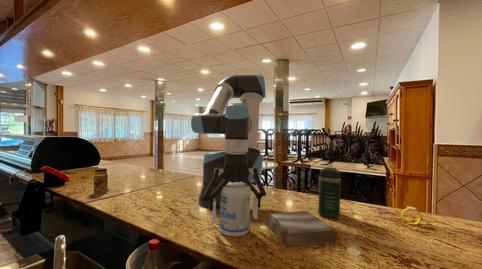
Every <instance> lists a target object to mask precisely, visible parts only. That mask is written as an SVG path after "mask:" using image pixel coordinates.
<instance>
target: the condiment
mask: <svg viewBox="0 0 482 269" xmlns="http://www.w3.org/2000/svg"><path fill="white" fill-rule="evenodd" d="M108 174H109V173H108V168H106V167H104V168H103V167H101V168H95V169H94V174H93V190H91V193H92V195H93V196H94V195H99V194H100V195H101V194H108V193H109V194H110V189H109V188H108V187H109V185H108V184H109V183H108V182H109V180H108V178H109V175H108Z"/></svg>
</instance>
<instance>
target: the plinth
mask: <svg viewBox="0 0 482 269" xmlns="http://www.w3.org/2000/svg"><path fill="white" fill-rule="evenodd" d="M265 225H267V226H268V228H269V229H270V230H271V231H272V232H273V233H274V235H276V236H277V238H278V239H279V240H280V241H281V242H282V243H283V244H284V245H285V247H287V248H291V247H292V248H293V247H301V246H309V245H310V246H311V245H318V244H319V245H320V244H326V243H336V242H338V231H337V230H336V229H334V228H333V226H331V225H330V224H329V223H327V222H325V221H324V220H322V219H321V218H319V217H317V216H316V215H314V214H312V213H311V212H309V211H308V210H302V211H301V210H300V211H288V212H287V211H286V212H273V213H272V212H271V213H269V215H266V222H265Z"/></svg>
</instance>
